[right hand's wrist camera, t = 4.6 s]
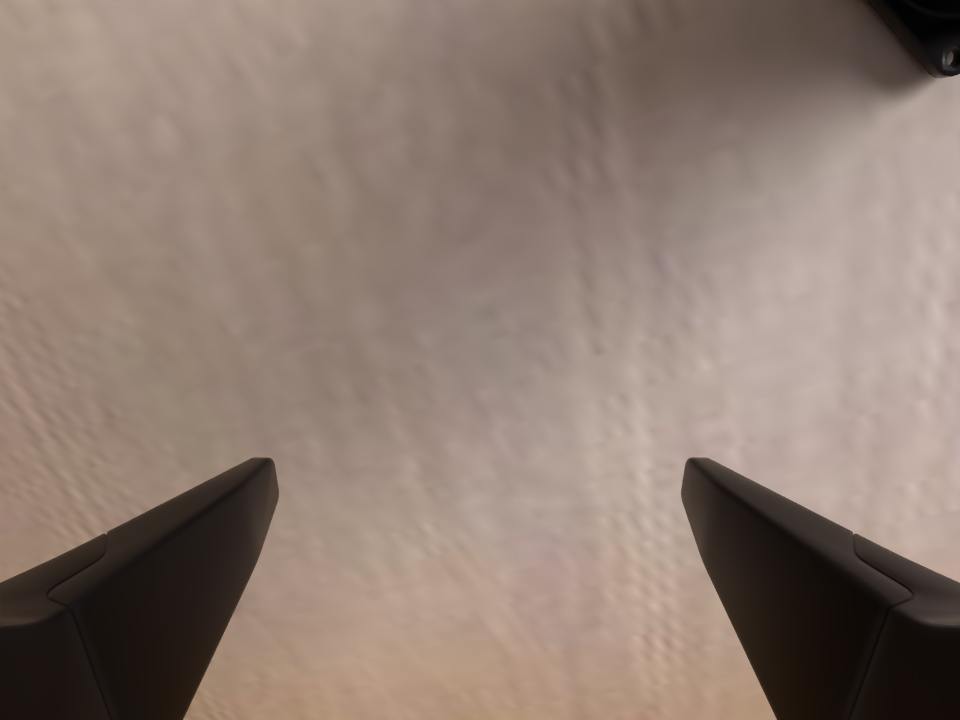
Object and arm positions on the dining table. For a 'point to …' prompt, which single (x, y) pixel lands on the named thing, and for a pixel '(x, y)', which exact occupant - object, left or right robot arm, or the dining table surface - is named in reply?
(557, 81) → the dining table surface
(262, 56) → the dining table surface
